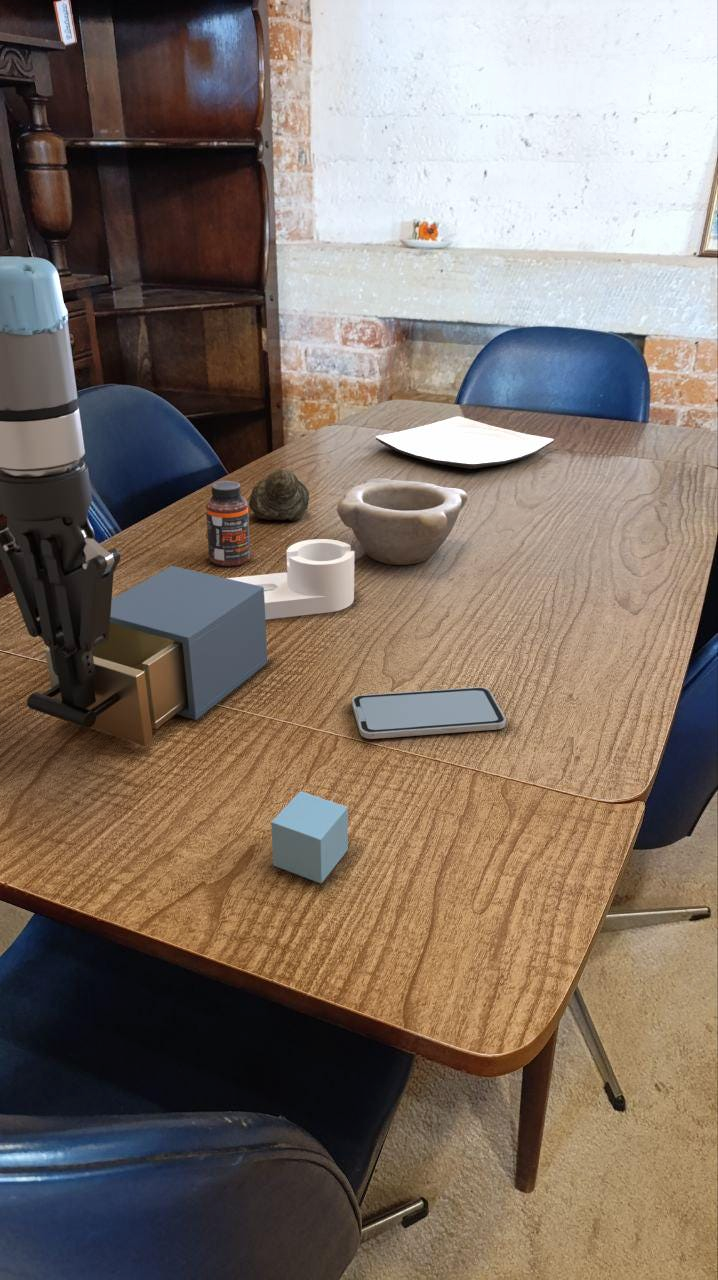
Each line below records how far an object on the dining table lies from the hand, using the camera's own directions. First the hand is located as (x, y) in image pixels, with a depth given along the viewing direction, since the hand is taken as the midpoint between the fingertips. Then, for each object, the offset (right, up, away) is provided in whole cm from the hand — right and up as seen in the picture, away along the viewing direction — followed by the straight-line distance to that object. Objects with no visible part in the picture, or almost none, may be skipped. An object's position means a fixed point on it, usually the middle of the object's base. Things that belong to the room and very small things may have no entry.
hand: (80, 706), depth 83 cm
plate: (+48, +45, +96) cm, 116 cm away
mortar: (+33, +19, +47) cm, 60 cm away
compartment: (+7, +2, +15) cm, 17 cm away
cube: (+23, -12, -11) cm, 28 cm away
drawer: (+3, -1, +6) cm, 7 cm away
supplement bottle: (+8, +18, +44) cm, 48 cm away
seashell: (+14, +27, +63) cm, 70 cm away
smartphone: (+34, -2, +8) cm, 34 cm away
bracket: (+16, +11, +32) cm, 37 cm away
